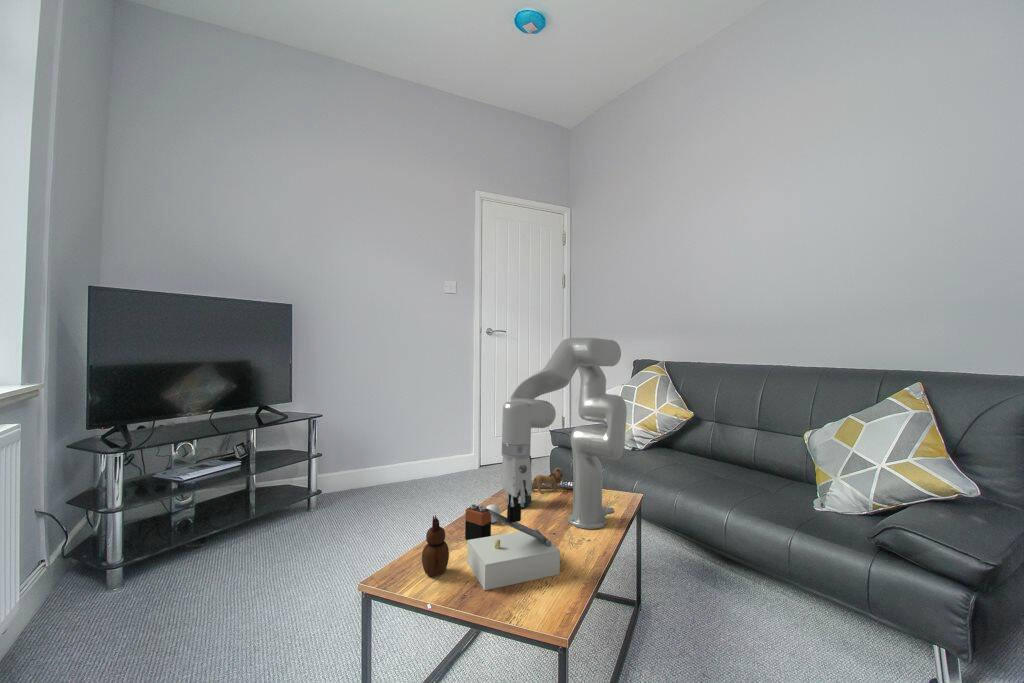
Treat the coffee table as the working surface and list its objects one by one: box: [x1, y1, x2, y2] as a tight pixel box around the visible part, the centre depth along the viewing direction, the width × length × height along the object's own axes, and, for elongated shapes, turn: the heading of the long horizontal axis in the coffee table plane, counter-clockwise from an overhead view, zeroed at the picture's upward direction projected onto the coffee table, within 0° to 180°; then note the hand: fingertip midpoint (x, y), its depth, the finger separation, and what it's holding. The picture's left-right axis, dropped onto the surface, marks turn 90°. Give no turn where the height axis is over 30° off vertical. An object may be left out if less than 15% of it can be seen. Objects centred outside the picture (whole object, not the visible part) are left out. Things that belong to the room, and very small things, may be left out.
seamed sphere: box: [485, 503, 502, 524], centre depth 141 cm, size 8×6×6 cm
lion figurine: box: [532, 467, 565, 494], centre depth 173 cm, size 15×5×9 cm, turn 111°
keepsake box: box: [466, 528, 561, 591], centre depth 112 cm, size 20×14×8 cm
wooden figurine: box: [421, 515, 450, 578], centre depth 109 cm, size 7×6×15 cm
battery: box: [464, 504, 492, 541], centre depth 128 cm, size 4×7×10 cm, turn 55°
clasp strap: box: [489, 510, 549, 544], centre depth 113 cm, size 17×6×1 cm, turn 114°
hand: (513, 520), depth 112 cm, fingers closed
